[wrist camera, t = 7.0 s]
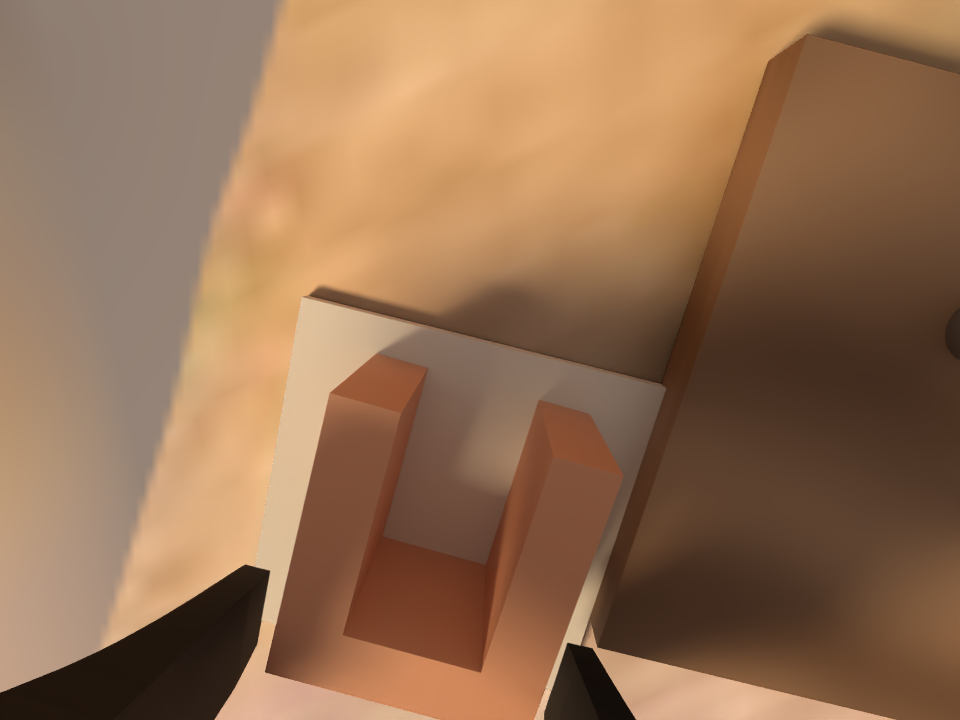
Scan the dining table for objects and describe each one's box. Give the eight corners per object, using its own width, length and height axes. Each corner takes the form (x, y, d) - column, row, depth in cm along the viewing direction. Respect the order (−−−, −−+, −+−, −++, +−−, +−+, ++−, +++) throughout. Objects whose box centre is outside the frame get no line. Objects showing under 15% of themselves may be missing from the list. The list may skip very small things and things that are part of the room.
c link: (518, 619, 14) (525, 742, 11) (324, 566, 14) (264, 672, 10) (589, 413, 13) (624, 476, 9) (376, 353, 13) (329, 393, 9)
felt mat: (562, 681, 15) (564, 693, 15) (252, 607, 15) (246, 617, 14) (661, 383, 13) (666, 388, 13) (307, 295, 13) (301, 296, 13)
